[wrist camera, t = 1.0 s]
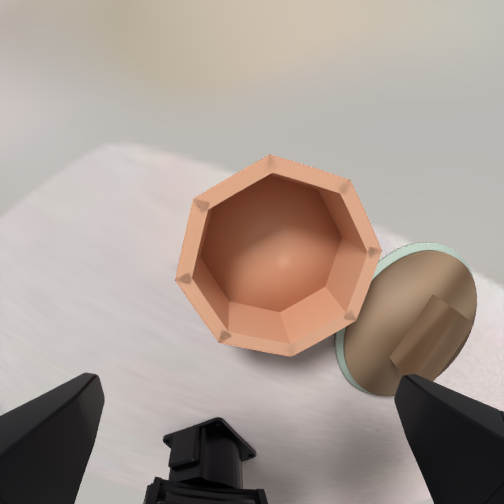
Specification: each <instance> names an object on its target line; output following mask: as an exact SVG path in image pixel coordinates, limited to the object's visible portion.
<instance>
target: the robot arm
mask: <svg viewBox="0 0 504 504" xmlns="http://www.w3.org/2000/svg"><path fill="white" fill-rule="evenodd" d="M394 400H395V405H396V408H397V411H398V414H399V417H400V420H401V423H402V426H403V429H404V432H405V435H406V438H407V441H408V443H409V445H410V448H411V450H412V452H413V454H414V457H415V459H416V461H417V463H418V466H419V468H420V470H421V473H422V475H423V478H424V480H425V482H426V485H427V487H428V490H429V492H430V494H431V497H432V499H433V502H434V504H504V412H503V411H500V410H498V409H496V408H493V407H491V406H488V405H486V404H484V403H481V402H479V401H476V400H474V399H472V398H469V397H467V396H465V395H462V394H460V393H458V392H455V391H453V390H451V389H448V388H446V387H444V386H442V385H439V384H437V383H435V382H433V381H430V380H428V379H426V378H424V377H421V376H419V375H417V374H414V373H412V374H406V375H403V376H402V377H401V379H400V382H399V385H398V388H397V390H396V393H395V397H394ZM103 406H104V393H103V390H102V386H101V382H100V378H99V376H98V375H97V374H92V373H83V374H81V375H79V376H77V377H75V378H74V379H72V380H70V381H68V382H66V383H64V384H62V385H60V386H58V387H56V388H54V389H52V390H51V391H49V392H47V393H45V394H43V395H41V396H39V397H37V398H35V399H33V400H31V401H29V402H27V403H25V404H23V405H21V406H19V407H17V408H15V409H13V410H11V411H9V412H7V413H5V414H3V415H1V416H0V504H74V503H75V500H76V496H77V493H78V490H79V487H80V484H81V481H82V477H83V475H84V472H85V469H86V466H87V463H88V460H89V458H90V455H91V452H92V449H93V446H94V443H95V439H96V435H97V431H98V426H99V422H100V418H101V414H102V410H103ZM217 422H218V423H217ZM163 442H164V443H165V444H166V445H167V446H168V447H170V448H171V453H170V458H169V464H168V466H169V467H170V473H169V479H168V480H165V479H162V478H159V477H155V479H154V482H153V484H152V483H151V485H148V486H147V491H146V495H145V499H144V503H143V504H268V502H267V498H266V495H265V491H264V489H257V490H253V489H243V478H242V462H243V461H246V460H249V459H252V458H254V457H255V456H256V454H255V451H254V450H253V449H252V448H251V447H250V446H249V445H248V444H247V443H246V442H245V441H244V440H243V439H242V438H241V437H240V436H239V435H238V434H237V433H236V432H235V431H234V430H233V429H232V428H231V427H230V426H229V425H228V424H227V423H226V422H225V421H224V420H223V419H222V418H213V419H211V420H208V421H205V422H203V423H200V424H197V425H194V426H192V427H189V428H186V429H183V430H180V431H177V432H174V433H171V434H168V435H165V436H164V437H163Z"/></svg>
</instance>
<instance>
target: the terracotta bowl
mask: <svg viewBox="0 0 504 504" xmlns="http://www.w3.org/2000/svg"><path fill="white" fill-rule="evenodd" d="M381 252H382V249H381V247H380V245H379V242H378V240H377V237H376V235H375V233H374V230H373V228H372V226H371V224H370V221H369V219H368V217H367V215H366V212H365V210H364V208H363V206H362V204H361V201H360V199H359V197H358V195H357V193H356V191H355V189H354V187H353V185H352V183H351V180H348V179H345V178H343V177H340V176H337V175H334V174H331V173H328V172H325V171H322V170H319V169H316V168H313V167H310V166H306V165H303V164H300V163H297V162H293V161H290V160H287V159H284V158H280V157H276V156H273V155H268V156H266V157H265V158H263V159H261V160H259V161H258V162H256V163H254V164H252V165H251V166H249V167H247V168H245V169H243V170H242V171H240V172H238V173H236V174H235V175H233V176H231V177H229V178H228V179H226V180H224V181H223V182H221V183H219V184H217V185H216V186H214V187H212V188H211V189H209V190H207V191H206V192H204V193H202V194H201V195H199V196H197V197H195V198H193V202H192V206H191V211H190V215H189V219H188V223H187V228H186V232H185V236H184V241H183V245H182V250H181V255H180V259H179V264H178V269H177V274H176V279H175V281H176V282H177V284H178V285H179V287H180V288H181V290H182V291H183V293H184V294H185V296H186V297H187V298H188V300H189V301H190V303H191V304H192V306H193V307H194V309H195V310H196V311H197V313H198V314H199V316H200V317H201V319H202V320H203V321H204V323H205V324H206V326H207V327H208V328H209V330H210V331H211V333H212V334H213V335H214V337H215V338H216V339H217V341H218V343H223V344H227V345H232V346H237V347H242V348H246V349H252V350H257V351H262V352H267V353H273V354H279V355H284V356H290V357H292V356H294V355H296V354H298V353H299V352H301V351H303V350H305V349H307V348H309V347H311V346H313V345H314V344H316V343H318V342H320V341H322V340H323V339H325V338H327V337H329V336H330V335H332V334H334V333H336V332H337V331H339V330H341V329H343V328H344V327H346V326H348V325H349V324H351V323H353V322H354V321H356V319H357V317H358V315H359V312H360V310H361V307H362V305H363V302H364V299H365V297H366V294H367V292H368V289H369V286H370V283H371V281H372V278H373V275H374V272H375V270H376V267H377V264H378V261H379V258H380V255H381Z"/></svg>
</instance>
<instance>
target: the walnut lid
mask: <svg viewBox="0 0 504 504" xmlns="http://www.w3.org/2000/svg"><path fill="white" fill-rule="evenodd" d="M476 308H477V293H476V287H475V282H474V280H473V277H472V275H471V273H470V271H469V270H468V268H467V267H466V266H465V265H464V263H463V262H461V261H460V260H459V259H457V258H456V257H454V256H452V255H449V254H447V253H445V252H441V251H437V250H423V251H418V252H414V253H410V254H408V255H406V256H403V257H401V258H399V259H398V260H396V261H394V262H393V263H391V264H390V265H388V266H387V267H386V268H384V269H383V270H382V271H381V272H380V273H379V274H378V275H377V276H376V277H375V278H374V279H373V280H372V281H371V283H370V286H369V289H368V292H367V294H366V297H365V299H364V302H363V305H362V307H361V310H360V312H359V315H358V317H357V319H356V321H354V322H353V323H351V324H349V325H348V326H346V329H345V333H344V341H343V351H344V358H345V363H346V365H347V368H348V370H349V372H350V374H351V375H352V377H353V378H354V380H355V382H356V383H357V384H358V385H359V386H360V387H362V388H363V389H364V390H366V391H368V392H370V393H372V394H376V395H380V396H395V393H396V390H397V388H398V385H399V382H400V379H401V377H402V376H403V375H406V374H412V373H414V374H417V375H419V376H421V377H424V378H426V379H428V380H430V381H434V380H435V379H436V377H438V376H439V375H440V374H441V373H442V372H443V371H445V370H446V369H447V368H448V367H449V365H450V364H451V363H452V362H453V361H454V360H455V358H456V357H457V356H458V354H459V353H460V351H461V350H462V348H463V347H464V345H465V343H466V341H467V339H468V337H469V334H470V332H471V329H472V326H473V325H474V324H473V323H474V319H475V315H476Z"/></svg>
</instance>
